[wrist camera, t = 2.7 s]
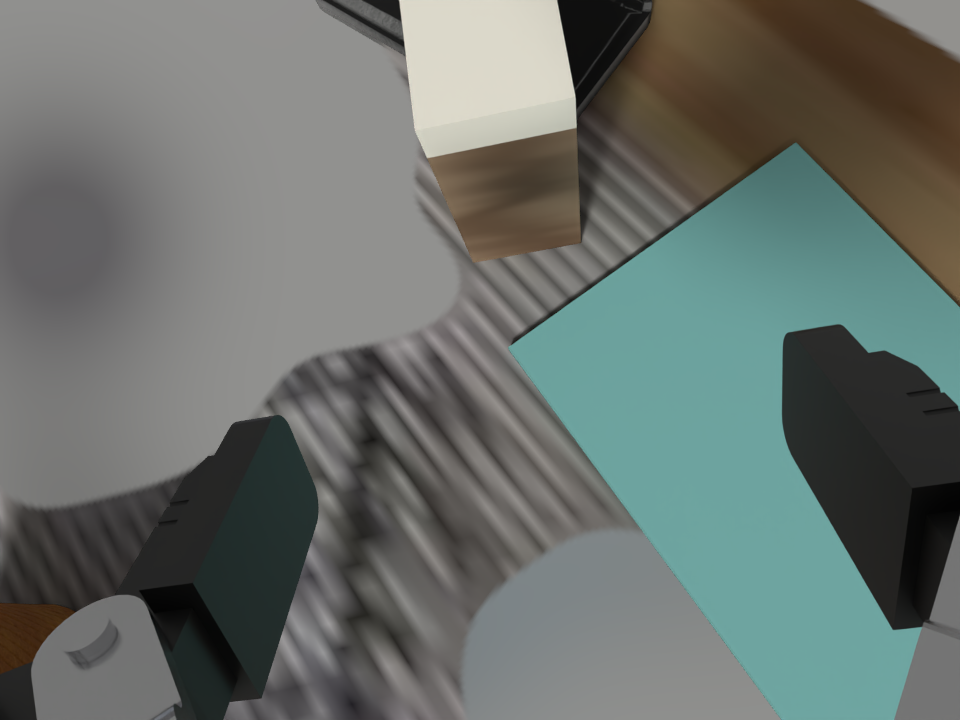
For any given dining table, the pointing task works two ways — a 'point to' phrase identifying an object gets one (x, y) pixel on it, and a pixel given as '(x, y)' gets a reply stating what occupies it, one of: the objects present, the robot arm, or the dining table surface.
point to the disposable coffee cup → (26, 631)
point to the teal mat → (748, 420)
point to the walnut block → (497, 119)
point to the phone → (585, 22)
